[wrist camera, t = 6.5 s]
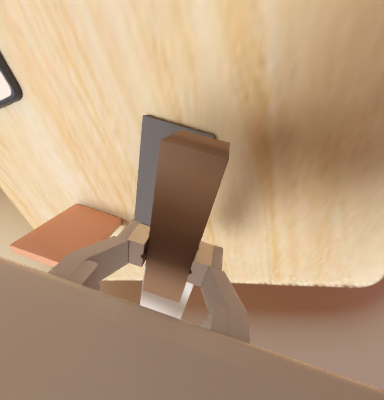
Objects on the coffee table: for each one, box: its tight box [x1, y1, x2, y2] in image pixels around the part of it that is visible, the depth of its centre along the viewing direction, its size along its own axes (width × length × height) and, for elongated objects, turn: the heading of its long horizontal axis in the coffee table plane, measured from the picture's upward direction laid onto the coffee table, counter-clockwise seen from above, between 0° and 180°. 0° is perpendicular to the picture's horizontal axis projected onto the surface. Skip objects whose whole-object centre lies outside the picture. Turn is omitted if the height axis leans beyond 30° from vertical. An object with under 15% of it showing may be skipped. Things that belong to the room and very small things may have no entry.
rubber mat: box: [135, 115, 215, 225], centre depth 26 cm, size 22×9×1 cm, turn 166°
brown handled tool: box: [140, 130, 230, 319], centre depth 12 cm, size 16×4×3 cm, turn 167°
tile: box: [10, 204, 121, 267], centre depth 27 cm, size 2×9×11 cm, turn 76°
